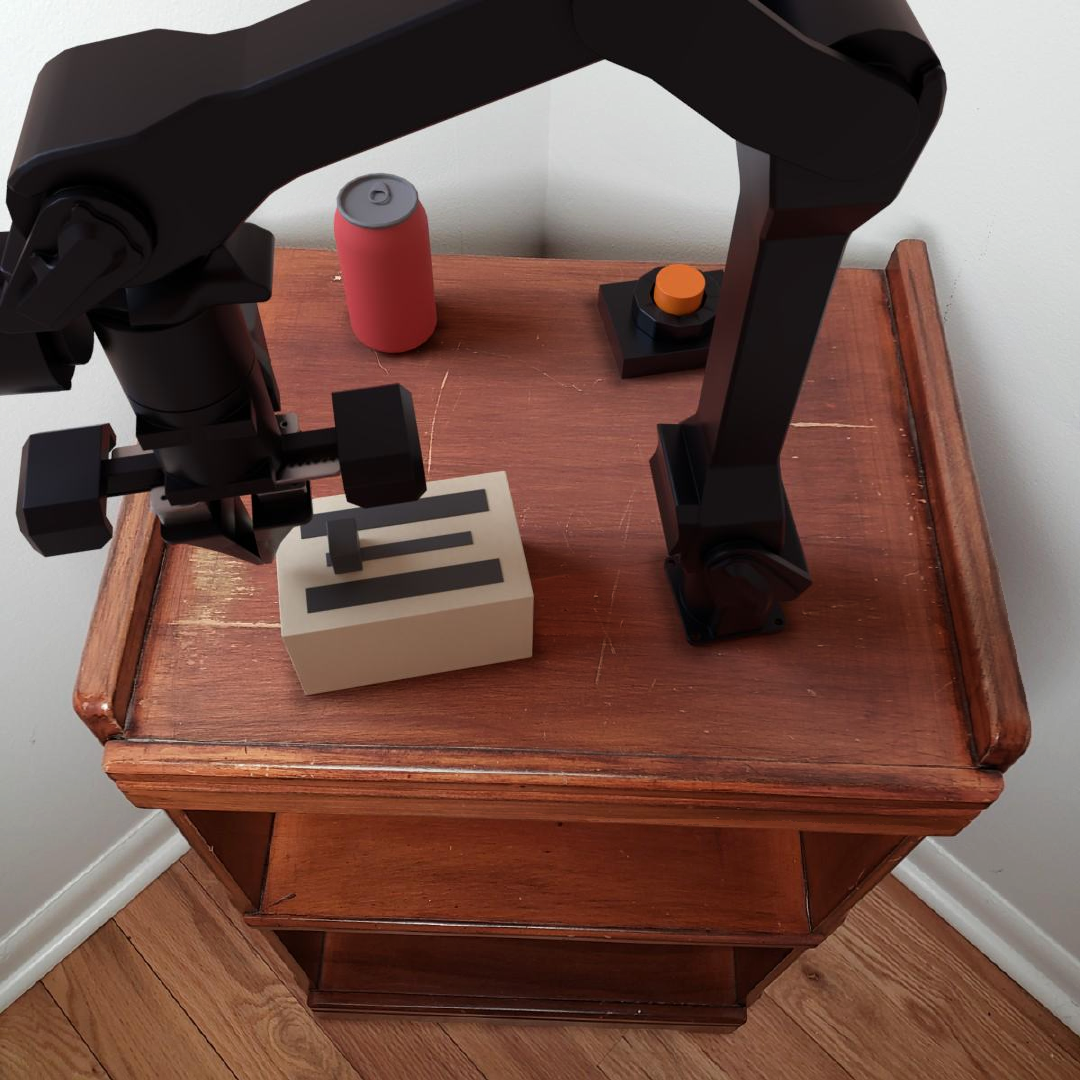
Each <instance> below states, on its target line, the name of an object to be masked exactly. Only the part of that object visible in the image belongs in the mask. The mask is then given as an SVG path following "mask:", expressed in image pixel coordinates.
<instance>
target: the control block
mask: <svg viewBox="0 0 1080 1080" xmlns="http://www.w3.org/2000/svg"><path fill="white" fill-rule="evenodd" d="M669 265H670V264H669ZM669 265H662V266H655V267H653V268H652V269H650V270H649V271H647V272H646V273H644V274H642V275H641V276H640V277H639V278H638V279H631V280H625V281H617V282H616V281H615V282H609V283H600V284H599V286H598V293H597V294H598V296H597V309H598V311H599V314H600V318H601V321H602V324H603V327H604V330H605V333H606V336H607V339H608V342H609V345H610V348H611V352H612V355H613V358H614V361H615V364H616V367H617V371H618V373H619V377H620V379H621V380H625V379H632V378H641V377H647V376H648V377H649V376H654V375H655V376H656V375H662V374H671V373H678V372H685V371H692V370H700V369H706V364H707V358H708V353H709V348H710V343H711V338H712V333H713V327H714V322H715V317H716V312H717V307H718V302H719V296H720V291H721V286H722V281H723V276H724V271H725V270H724V269H720V268H719V269H714V270H706V271H705V270H704V271H703V270H701V269H699V268H696V269H697V270H698V271H699V272H700V273H701V274H702V275H703V277H704V279H705V288H704V293H703V298H702V303H701V305H700V307H699V308H698V309H697V310H696V311H695V312H693V313H691V314H684V315H675V314H671V313H667V312H664V311H662V310H661V309H660V308H659V307H658V306H657V305H656V303H655V301H654V291H655V284H656V277H657V275H658V273H659V272H660V271H661V270H662V269H663V268H665V267H667V266H669Z"/></svg>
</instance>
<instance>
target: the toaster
mask: <svg viewBox="0 0 1080 1080" xmlns="http://www.w3.org/2000/svg"><path fill="white" fill-rule="evenodd" d="M507 475H508V474H507V471H506V470H501V471H493V472H485V473H479V474H472V475H466V476H459V477H452V478H447V479H446V478H445V479H439V480H431V481H426V486H427V491H426V492H425V493H424V494H423V495H422V496H421V497H420V499H419V500H418V501H413V502H407V503H400V504H394V505H387V506H381V507H374V508H367V509H364V508H362V507H359V506H356V505H354V504H351V503H348V502H347V500H346V496H345V493H342V494H336V495H329V496H321V497H314V498H312V503H313V518H312V520H311V521H310V522H309V523H308V524H306V525H303V526H297V527H294V528H293V529H292V530H291V531H290V532H289V534H288V535H287V536H286V537H285V538H284V539H283V541H282V542H281V543H280V546H279V548H278V550H277V553H276V555H275V559H276V571H277V572H276V574H277V575H276V577H277V590H278V603H279V604H278V606H279V618H280V621H279V622H280V633H281V634H280V635H281V639H282V642H283V644H284V647H285V648H286V651H287V653H288V655H289V658H290V660H291V663H292V665H293V668H294V671H295V672H296V675H297V678H298V680H299V682H300V685H301V687H302V690H303V692H304V695H306V696H310V695H317V694H322V693H329V692H333V691H339V690H345V689H353V688H357V687H363V686H368V685H374V684H382V683H386V682H393V681H399V680H405V679H410V678H415V677H422V676H428V675H432V674H440V673H446V672H451V671H457V670H463V669H470V668H474V667H481V666H486V665H487V666H488V665H493V664H498V663H505V662H511V661H516V660H522V659H528V658H531V657H532V658H533V636H534V602H535V599H534V598H535V594H534V590H533V586H532V580H531V577H530V573H529V568H528V563H527V559H526V555H525V551H524V550H525V549H524V546H523V542H522V541H523V540H522V537H521V532H520V529H519V524H518V519H517V515H516V511H515V506H514V501H513V497H512V492H511V489H510V484H509V479H508V476H507ZM351 517H354V518H355V521H356V526H357V530H358V534H359V540H360V548H361V557H362V565H363V570H362V571H356V572H350V573H343V574H337V575H335V573H334V570H333V566H332V563H331V559H330V556H329V546H328V536H327V526H326V521H331V520H338V519H344V518H351Z"/></svg>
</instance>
